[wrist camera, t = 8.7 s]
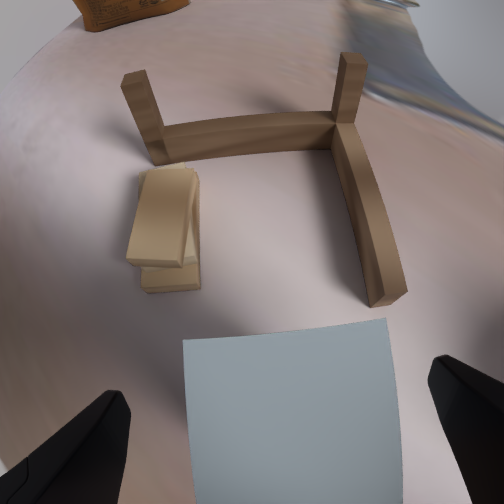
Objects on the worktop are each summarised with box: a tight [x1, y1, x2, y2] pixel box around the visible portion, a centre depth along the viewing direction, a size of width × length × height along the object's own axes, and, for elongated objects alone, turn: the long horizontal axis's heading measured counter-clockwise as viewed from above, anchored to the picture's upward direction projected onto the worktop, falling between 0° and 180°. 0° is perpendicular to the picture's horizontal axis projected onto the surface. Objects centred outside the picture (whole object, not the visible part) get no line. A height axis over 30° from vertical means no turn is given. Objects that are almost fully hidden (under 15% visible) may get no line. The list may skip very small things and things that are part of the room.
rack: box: [120, 52, 408, 308], centre depth 15 cm, size 12×13×7 cm
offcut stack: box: [126, 162, 201, 293], centre depth 17 cm, size 7×4×3 cm, turn 5°
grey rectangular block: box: [183, 318, 403, 504], centre depth 9 cm, size 5×3×11 cm, turn 5°
